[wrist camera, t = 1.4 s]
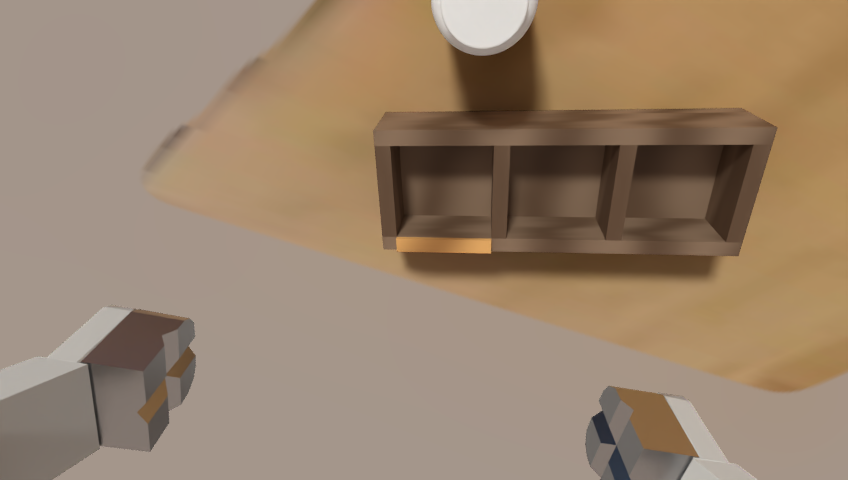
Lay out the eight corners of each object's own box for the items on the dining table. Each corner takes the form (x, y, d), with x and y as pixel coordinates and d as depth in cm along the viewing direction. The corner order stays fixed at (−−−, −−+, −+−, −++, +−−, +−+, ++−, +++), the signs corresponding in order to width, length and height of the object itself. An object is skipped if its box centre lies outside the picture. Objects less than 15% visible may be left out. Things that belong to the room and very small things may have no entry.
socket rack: (741, 108, 32) (780, 128, 28) (710, 228, 36) (739, 261, 32) (385, 112, 35) (372, 131, 31) (394, 223, 39) (383, 254, 35)
